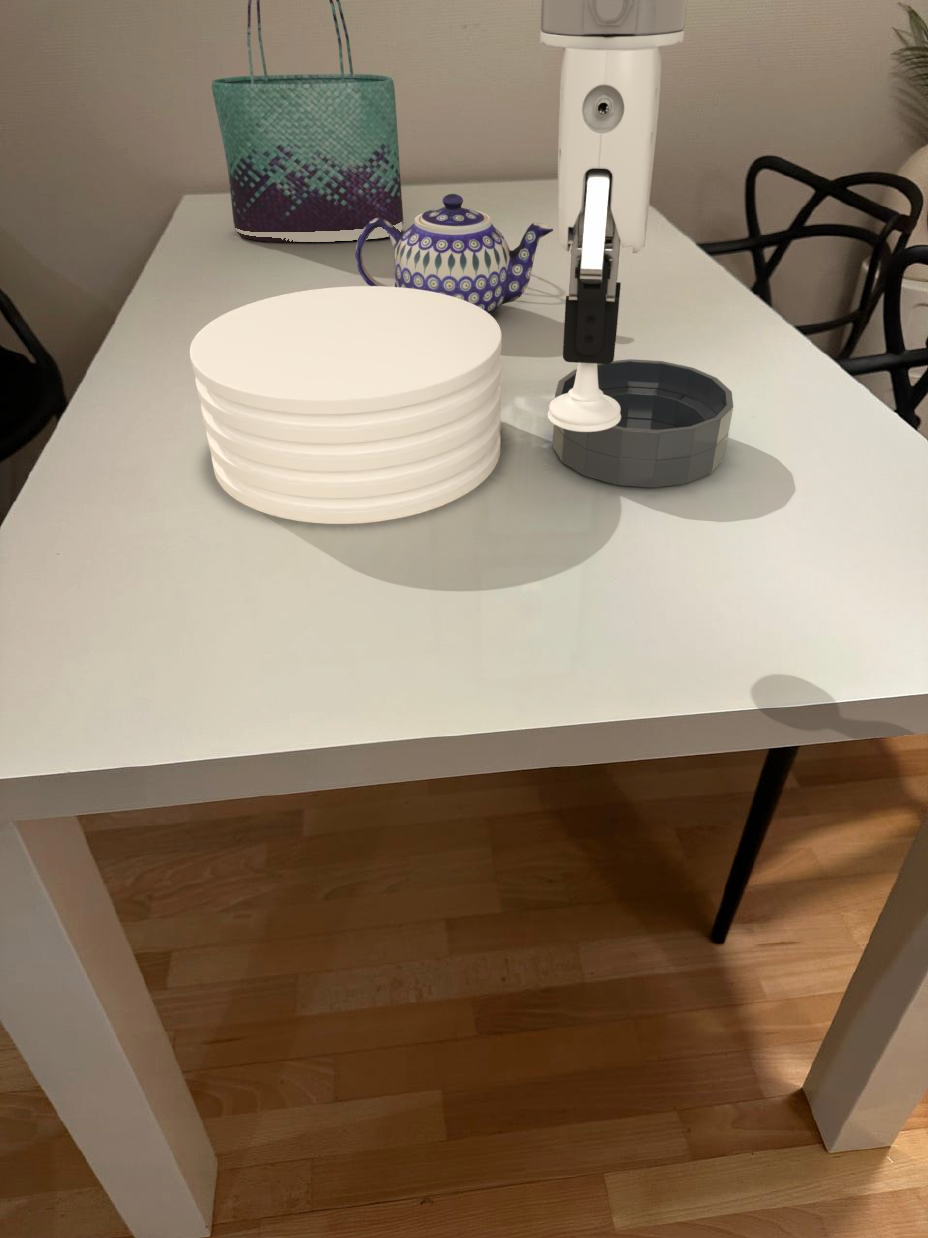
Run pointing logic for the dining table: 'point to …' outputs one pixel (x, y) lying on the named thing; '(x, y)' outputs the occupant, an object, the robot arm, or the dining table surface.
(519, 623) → the dining table surface
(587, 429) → the chess piece
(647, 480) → the grey faceted round tub
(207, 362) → the plate stack
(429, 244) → the teapot
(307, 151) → the basket
